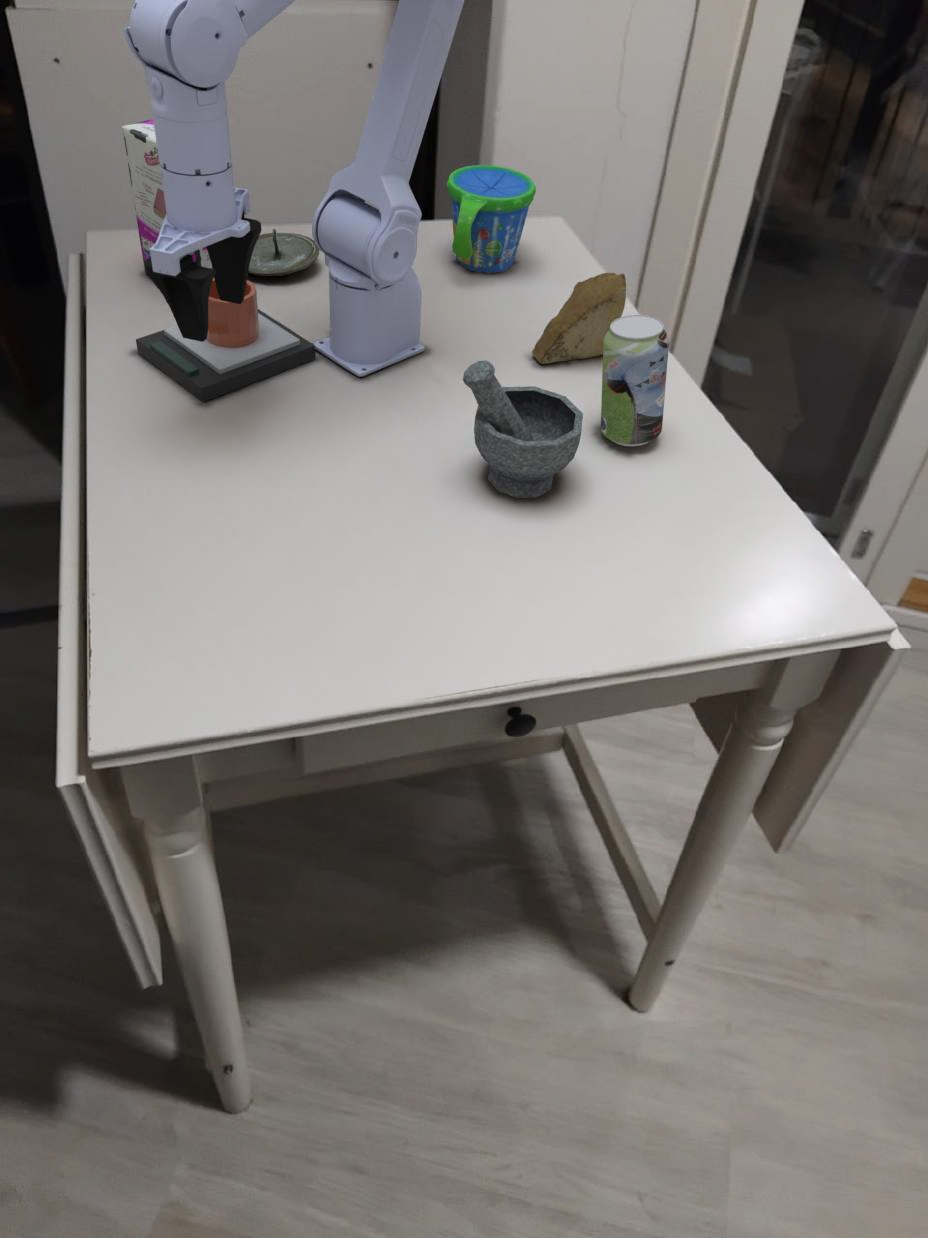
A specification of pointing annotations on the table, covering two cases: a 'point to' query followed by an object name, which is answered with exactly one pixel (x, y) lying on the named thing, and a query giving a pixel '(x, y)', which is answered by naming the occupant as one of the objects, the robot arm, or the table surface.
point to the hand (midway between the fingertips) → (213, 318)
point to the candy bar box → (149, 187)
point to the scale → (225, 358)
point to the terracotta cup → (233, 319)
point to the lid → (282, 254)
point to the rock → (583, 320)
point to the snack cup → (488, 215)
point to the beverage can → (634, 380)
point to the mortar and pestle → (522, 432)
